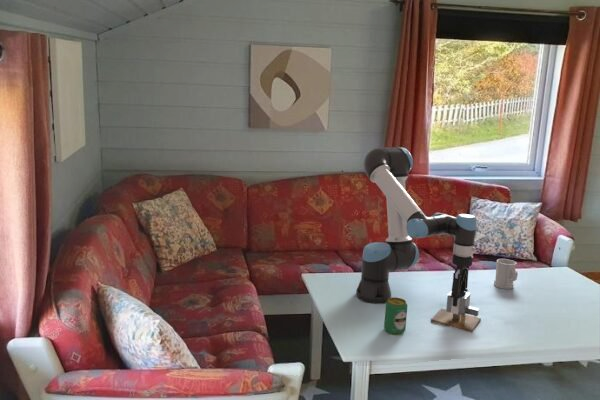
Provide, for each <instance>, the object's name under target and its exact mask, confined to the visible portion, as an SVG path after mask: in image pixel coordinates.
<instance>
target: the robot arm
mask: <svg viewBox="0 0 600 400" xmlns="http://www.w3.org/2000/svg"><path fill="white" fill-rule="evenodd" d="M413 162H414V159H413V156H412V154H411V153H410V151H409V150H408V149H407V148H405V147H401V146H400V147H399V146H390V147H376V148H372V149H371V150H370V151H368V152H367V153H366V154H365V157H364V159H363V168H364V169H363V170H364V173H365V174H366V176H367V178H368V179H369V180H370V182H371V183H375V184H376V186H378V189H380V190H381V192H382V193H383V194H384V196H385V198H386V200H385V201H386V211H387V213H386V215H387V227H388V228H387V229H388V237H387V238H386V239H385V242H383V241H379V242H377V241H375V242H371V243H368V244H366V245H365V246H364V248H363V251H362V256H361V258H362V261H361V262H362V264H361V275H360V276H361V277H360V278H361V279H360V281H359V284H358V286H357V288H356V292H355V297H356V298H357V299H358V300H360V301H362V302H365V303H370V304H386V302H387V301H388V299H389V298H392V291H391V287H390V282H389V278H390V277H389V275H390V273H392V272H397V271H402V270H408V269H411V268H412V267H414V266H415V265H416V264H417V263H418V260H419V259H420V258H419V257H420V256H419V255H420V251H419V248H418V246H417V244H416V243H414V242H413V239H424V238H427V237H434V236H441V235H447V236H450V237H453V238H454V239H453V240H454V241H453V249H452V251H453V253H452V259H451V260H452V261H451V262H452V264H453V265H455V266H456V268H455V269H454V272H453V274H452V275H453V276H452V285H451V291H452V292H451V291H450V292H451V295H450V297H452V306H451V313H454V314H458V312H459V302H460V298H459V295H460V291H463V292H467V293H468V292H469V291H468V290H469V289H468V283H469V281H468V280H469V270H470V267H471V266H472V265H473V261H474V256H473V255H474V251H476V247H475V238H476V234H477V217H476V216H475V215H473V214H467V213H459V214H457V215H456V216H453V215H449V214H447V213H443V212H442V213H441V212H435V213H433V214H432V215H431V216H426V214H425V213H424V212H423V210H422V209H421V208H420V207H419V206H418V205H417V203H416V202H415V201H414V199H413V198H412V197H411V196H410V194H409V193H408V192H407V191H406V189H407V188H406V181H407V179H408V178H409V173H410V171H412V168H413V166H414V163H413Z"/></svg>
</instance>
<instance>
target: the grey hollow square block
mask: <svg viewBox="0 0 600 400" xmlns="http://www.w3.org/2000/svg"><path fill="white" fill-rule="evenodd" d="M451 292H452V290H451V291H450V292H449V293H447V299H446V308H445V309H446V312H450V313H451V306H452V297H450V295H451ZM471 294H472V293H471V292H468V291H467V292H466V291H464V292H463V291H460V295H459V298H460V302H459V312H458V314H459V315H465V314H466V315H470V316H474V317H478V316H479V312H480V308H478V307H477V308H476V307H473V306H470V305H471V304H470V303H471Z"/></svg>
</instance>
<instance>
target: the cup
mask: <svg viewBox="0 0 600 400" xmlns="http://www.w3.org/2000/svg"><path fill="white" fill-rule="evenodd" d="M517 264H518V263H517V262H516V261H515V260H511V259H507V258H498V259H496V265H495V266H496V269H495V280H493V281H494V282H493V285H494V287H497V288H499V289H503V290H511V289H513V288H514V286H515V284H514V282H515V281H517V278H518V276H519V275H518V271H517V270H516V268H517Z"/></svg>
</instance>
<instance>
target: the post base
mask: <svg viewBox="0 0 600 400" xmlns="http://www.w3.org/2000/svg"><path fill="white" fill-rule="evenodd" d="M481 321H482V318H481V317H478V316H474V315H470V314H465V315H459V314H454V313H450V312H446V308H445V309H444V308H440V309H439V310H438V311H437V313H436V314H435V315H434V316H433V317H432V318H431V319H430V322H432V323H435V324H439V325H442V326H446V327H451V328H453V329H458V330H461V331H465V332H469V333H473V331H475V329H476V328H477V326H478V325H479V324H480V322H481Z"/></svg>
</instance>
